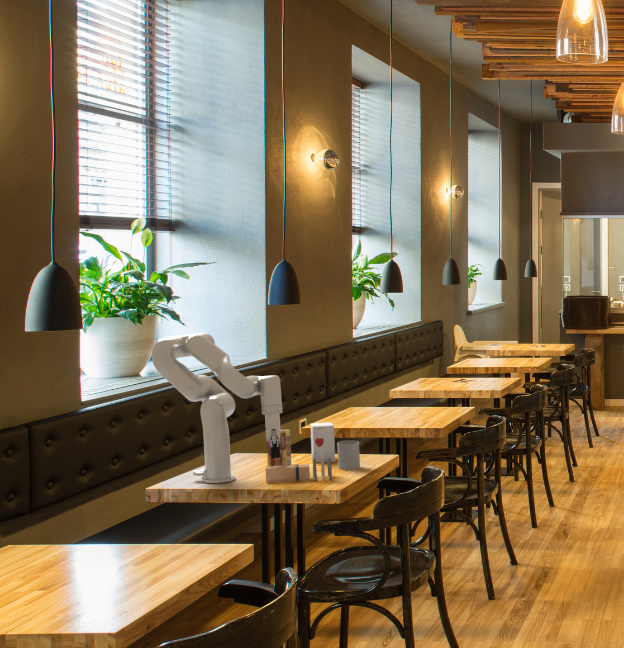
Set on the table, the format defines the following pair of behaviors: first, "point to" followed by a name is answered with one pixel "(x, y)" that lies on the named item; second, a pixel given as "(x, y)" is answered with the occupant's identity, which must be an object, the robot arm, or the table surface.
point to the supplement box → (322, 441)
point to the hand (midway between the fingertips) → (275, 455)
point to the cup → (348, 455)
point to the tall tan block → (287, 473)
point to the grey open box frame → (322, 467)
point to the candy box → (281, 450)
